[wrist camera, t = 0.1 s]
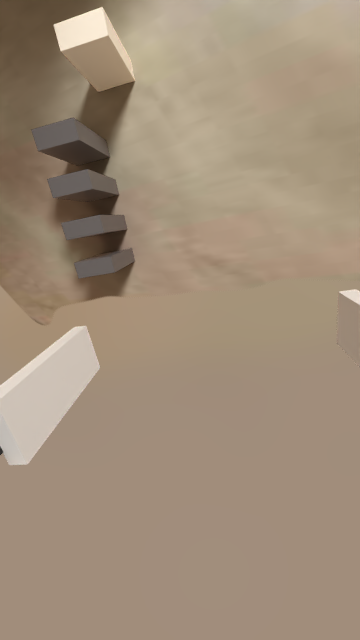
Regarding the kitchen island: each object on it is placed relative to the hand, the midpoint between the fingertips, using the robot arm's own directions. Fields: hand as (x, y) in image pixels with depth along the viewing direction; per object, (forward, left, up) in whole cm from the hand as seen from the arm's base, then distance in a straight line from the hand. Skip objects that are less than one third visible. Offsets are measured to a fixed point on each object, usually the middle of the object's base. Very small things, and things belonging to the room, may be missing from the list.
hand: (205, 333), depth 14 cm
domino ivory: (-24, -9, -28) cm, 38 cm away
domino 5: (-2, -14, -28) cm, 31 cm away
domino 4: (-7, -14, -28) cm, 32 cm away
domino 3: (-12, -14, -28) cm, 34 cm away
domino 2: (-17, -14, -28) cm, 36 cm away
